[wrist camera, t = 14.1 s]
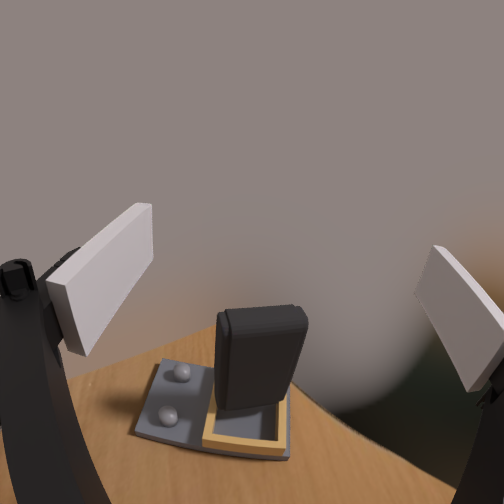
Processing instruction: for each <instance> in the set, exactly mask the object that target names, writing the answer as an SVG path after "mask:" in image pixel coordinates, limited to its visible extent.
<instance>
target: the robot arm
mask: <svg viewBox="0 0 504 504" xmlns="http://www.w3.org/2000/svg"><path fill="white" fill-rule="evenodd" d="M152 260H153V240H152V204H146V203H135V204H134V205H133V206H131V207H130V208H129V209H127V210H126V211H125V212H124V213H122V214H121V215H120V216H119V217H117V218H116V219H115V220H114V221H112V222H111V223H110V224H109V225H107V226H106V227H105V228H104V229H102V230H101V231H100V232H99V233H98V234H96V235H95V236H94V237H93V238H92V239H90V240H89V241H88V242H87V243H86V244H85V245H83V247H78V248H76V249H74V250H72V251H70V252H68V253H67V254H66V255H64V256H63V257H62V258H61V259H60V261H58V262H56V263H55V264H54V266H53V267H51V268H50V269H49V270H48V271H47V272H45V273H44V274H43V275H42V276H41V277H40V278H39V279H38V280H37V281H36V280H35V276H34V272H33V269H32V265H31V262H30V261H28V260H27V259H14V260H11V261H8V262H6V263H4V264H2V265H1V266H0V295H1V296H0V426H1V428H2V435H3V442H4V448H5V454H6V459H7V464H8V469H9V473H10V478H11V482H12V486H13V489H14V493H15V497H16V500H17V503H18V504H111V502H110V500H109V498H108V496H107V494H106V491H105V489H104V487H103V485H102V483H101V481H100V478H99V476H98V474H97V471H96V469H95V467H94V464H93V462H92V459H91V457H90V454H89V451H88V449H87V446H86V443H85V441H84V438H83V435H82V432H81V429H80V426H79V423H78V420H77V417H76V413H75V410H74V407H73V403H72V400H71V396H70V392H69V388H68V384H67V380H66V376H65V372H64V368H63V363H62V358H61V353H60V350H59V348H58V344H59V343H60V342H61V340H62V339H64V341H65V344H66V346H67V349H68V351H70V352H73V353H76V354H79V355H82V356H85V357H87V356H88V354H89V352H90V351H91V349H92V348H93V346H94V345H95V343H96V341H97V340H98V338H99V337H100V335H101V334H102V332H103V331H104V329H105V327H106V326H107V325H108V323H109V321H110V320H111V319H112V317H113V315H114V314H115V313H116V311H117V310H118V308H119V306H120V305H121V304H122V302H123V301H124V299H125V298H126V296H127V295H128V293H129V292H130V291H131V289H132V288H133V286H134V285H135V284H136V282H137V281H138V279H139V278H140V277H141V275H142V274H143V272H144V271H145V270H146V268H147V267H148V265H149V264H150V262H151V261H152ZM414 294H415V295H416V297H417V299H418V300H419V302H420V304H421V305H422V307H423V309H424V311H425V312H426V314H427V316H428V317H429V319H430V321H431V323H432V325H433V326H434V328H435V330H436V332H437V334H438V335H439V337H440V339H441V341H442V343H443V345H444V347H445V348H446V350H447V352H448V354H449V356H450V358H451V360H452V362H453V364H454V366H455V368H456V370H457V372H458V374H459V376H460V378H461V380H462V383H463V385H464V387H465V389H466V391H467V392H471V391H477V390H480V389H481V388H482V387H483V385H484V384H485V383H486V382H487V381H488V379H489V380H490V381H491V383H492V385H491V386H490V387H489V389H488V390H487V391H486V393H485V394H484V395H483V396H482V397H481V398H480V399H479V401H478V402H477V404H476V406H478V405H479V404H480V403H481V402H484V404H483V405H482V406H481V408H482V409H483V411H482V415H481V419H480V423H479V427H478V430H477V434H476V437H475V441H474V444H473V447H472V450H471V454H470V456H469V459H468V462H467V465H466V468H465V471H464V473H463V476H462V479H461V481H460V484H459V486H458V488H457V491H456V493H455V495H454V498H453V500H452V502H451V504H504V314H503V313H502V312H501V310H500V309H499V308H498V307H497V306H496V304H495V303H494V302H493V301H492V299H491V298H490V297H489V296H488V295H487V293H486V292H485V291H484V290H483V289H482V288H481V286H480V285H479V284H478V283H477V282H476V281H475V280H474V278H473V277H472V276H471V275H470V274H469V273H468V272H467V271H466V270H465V268H464V267H463V266H462V265H461V264H460V263H459V262H458V261H457V260H456V259H455V258H454V257H453V256H452V255H451V254H450V253H449V252H448V251H447V250H446V249H445V248H444V247H440V246H435V245H432V248H431V251H430V254H429V257H428V259H427V262H426V264H425V267H424V270H423V272H422V275H421V277H420V280H419V282H418V285H417V287H416V290H415V292H414Z"/></svg>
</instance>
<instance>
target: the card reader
mask: <svg viewBox="0 0 504 504" xmlns="http://www.w3.org/2000/svg"><path fill="white" fill-rule="evenodd" d="M307 330H308V317H307V316H306V314H305V312H304V311H303V309H302V308H301V307H300V306H296V307H295V306H294V305H292V304H291V305H280V306H267V307H253V308H239V309H225V311H224V312H219V313H218V315H217V322H216V341H215V363H214V394H215V400H216V404H217V408H218V409H219V410H224V411H231V410H239V409H247V408H254V407H260V406H266V405H272V404H278V403H279V401H283V400H284V398H285V395H286V393H287V390H288V388H289V385H290V382H291V380H292V377H293V374H294V371H295V368H296V365H297V362H298V359H299V356H300V353H301V350H302V347H303V344H304V340H305V337H306V333H307Z"/></svg>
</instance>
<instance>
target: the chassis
mask: <svg viewBox="0 0 504 504" xmlns="http://www.w3.org/2000/svg"><path fill="white" fill-rule="evenodd" d="M135 433H136V435H137V436H140V437H143V438H147V439H150V440H154V441H158V442H162V443H166V444H170V445H175V446H179V447H184V448H189V449H194V450H199V451H205V452H211V453H217V454H223V455H230V456H238V457H247V458H256V459H268V460H284V461H288V459H289V457H290V385H289V388H288V390H287V393H286V395H285V398H284V400H283V401H279V403H278V404H272V405H266V406H260V407H254V408H247V409H239V410H231V411H224V410H219V409H218V408H217V404H216V400H215V394H214V368H211V367H206V366H200V365H194V364H189V363H184V362H179V361H174V360H169V359H164V358H162V361H161V363H160V366H159V368H158V371H157V373H156V376H155V378H154V381H153V383H152V386H151V389H150V391H149V394H148V396H147V399H146V401H145V404H144V407H143V409H142V412H141V415H140V417H139V420H138V423H137V425H136V428H135Z"/></svg>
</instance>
